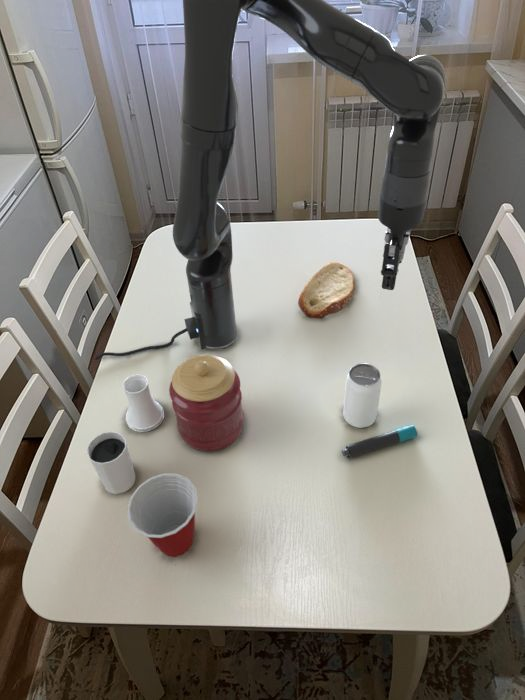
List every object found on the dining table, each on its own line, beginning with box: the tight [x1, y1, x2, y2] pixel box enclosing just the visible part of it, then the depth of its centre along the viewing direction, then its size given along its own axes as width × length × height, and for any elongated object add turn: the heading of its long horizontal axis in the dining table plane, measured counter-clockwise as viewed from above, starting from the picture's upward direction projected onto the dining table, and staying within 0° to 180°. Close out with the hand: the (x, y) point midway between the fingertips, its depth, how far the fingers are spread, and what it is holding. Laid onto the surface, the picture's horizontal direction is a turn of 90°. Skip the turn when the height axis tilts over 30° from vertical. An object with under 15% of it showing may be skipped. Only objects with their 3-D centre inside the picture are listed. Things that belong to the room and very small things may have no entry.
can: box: [342, 362, 382, 429], centre depth 103 cm, size 6×6×12 cm
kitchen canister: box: [168, 354, 245, 452], centre depth 101 cm, size 13×13×18 cm
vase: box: [122, 373, 165, 433], centre depth 106 cm, size 8×8×10 cm
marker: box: [341, 424, 418, 459], centre depth 101 cm, size 15×2×2 cm
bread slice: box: [297, 261, 356, 320], centre depth 135 cm, size 18×18×4 cm
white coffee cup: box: [86, 431, 136, 495], centre depth 95 cm, size 7×7×10 cm
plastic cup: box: [126, 472, 199, 558], centre depth 86 cm, size 11×11×12 cm
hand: (391, 274), depth 100 cm, fingers open, 8 cm apart
